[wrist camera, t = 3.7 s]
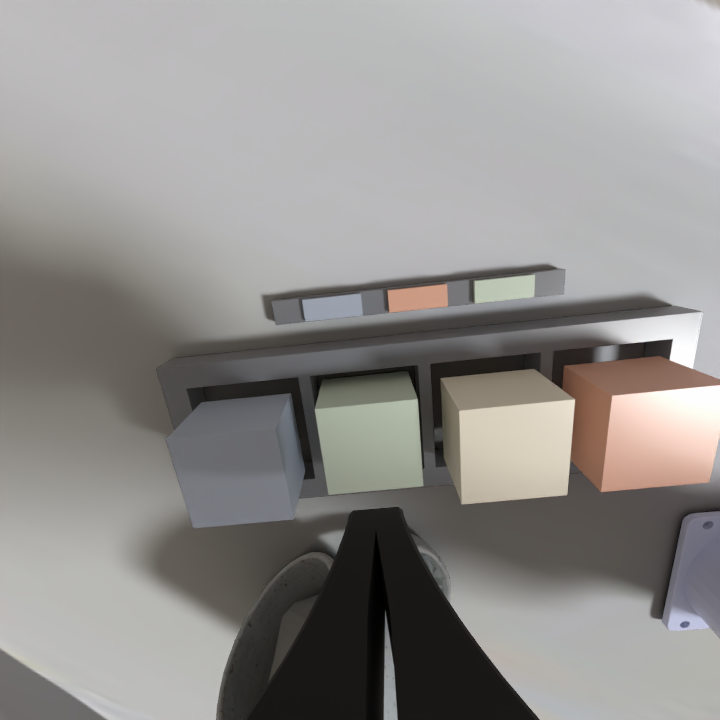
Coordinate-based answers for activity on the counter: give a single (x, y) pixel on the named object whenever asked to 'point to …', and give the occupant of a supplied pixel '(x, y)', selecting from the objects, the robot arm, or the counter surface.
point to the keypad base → (425, 366)
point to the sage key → (369, 433)
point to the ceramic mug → (294, 631)
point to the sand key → (506, 435)
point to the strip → (419, 296)
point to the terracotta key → (643, 423)
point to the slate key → (239, 461)
